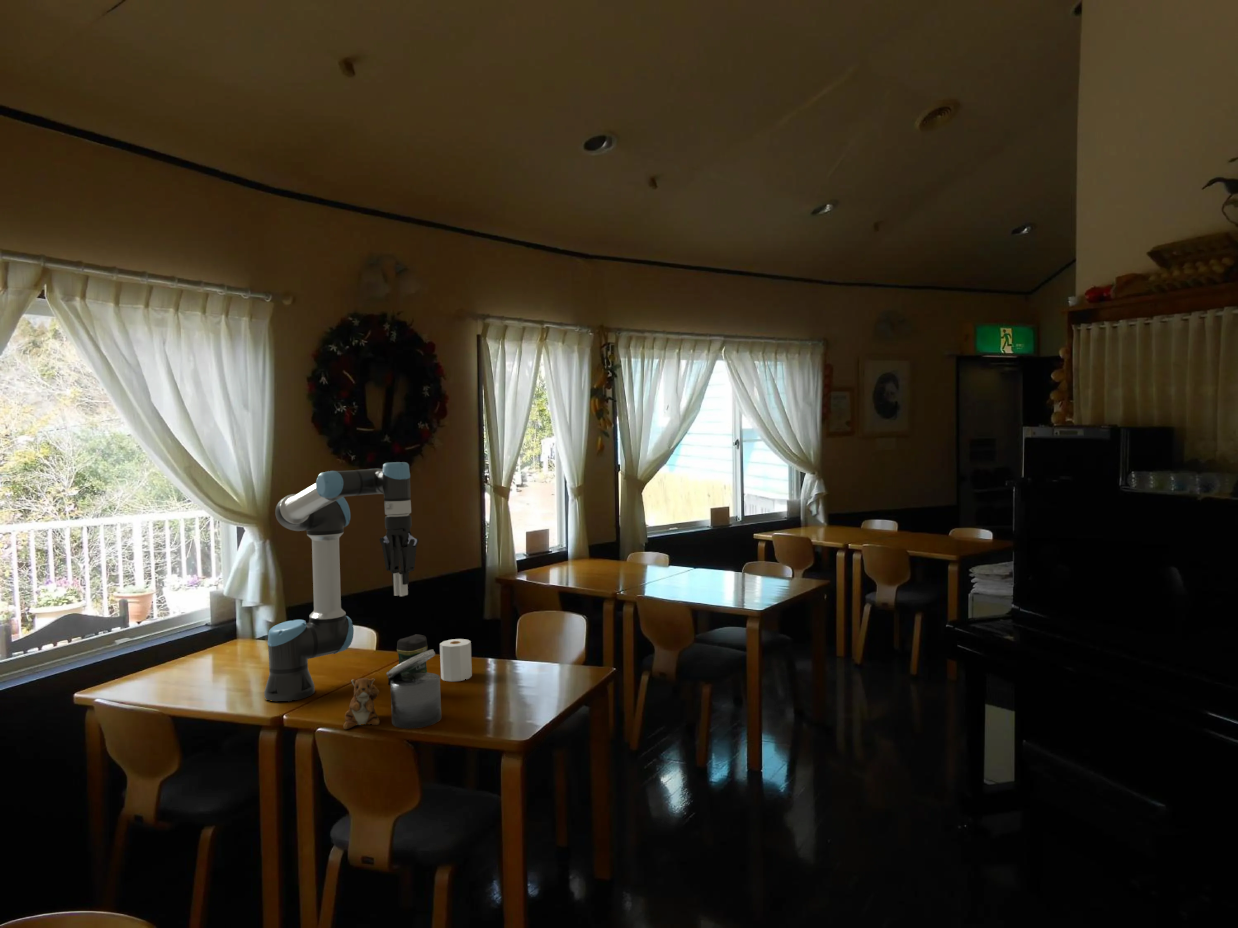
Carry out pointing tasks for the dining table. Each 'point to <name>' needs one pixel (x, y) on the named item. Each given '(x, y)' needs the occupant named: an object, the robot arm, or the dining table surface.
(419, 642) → the coffee jar
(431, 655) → the lid
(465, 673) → the toilet paper
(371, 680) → the stuffed squirrel
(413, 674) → the cooker pot
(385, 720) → the dining table surface
